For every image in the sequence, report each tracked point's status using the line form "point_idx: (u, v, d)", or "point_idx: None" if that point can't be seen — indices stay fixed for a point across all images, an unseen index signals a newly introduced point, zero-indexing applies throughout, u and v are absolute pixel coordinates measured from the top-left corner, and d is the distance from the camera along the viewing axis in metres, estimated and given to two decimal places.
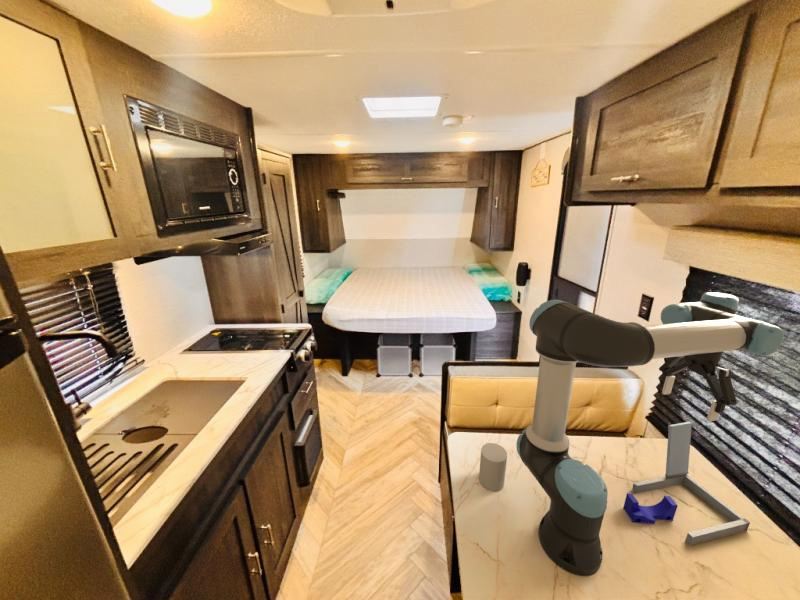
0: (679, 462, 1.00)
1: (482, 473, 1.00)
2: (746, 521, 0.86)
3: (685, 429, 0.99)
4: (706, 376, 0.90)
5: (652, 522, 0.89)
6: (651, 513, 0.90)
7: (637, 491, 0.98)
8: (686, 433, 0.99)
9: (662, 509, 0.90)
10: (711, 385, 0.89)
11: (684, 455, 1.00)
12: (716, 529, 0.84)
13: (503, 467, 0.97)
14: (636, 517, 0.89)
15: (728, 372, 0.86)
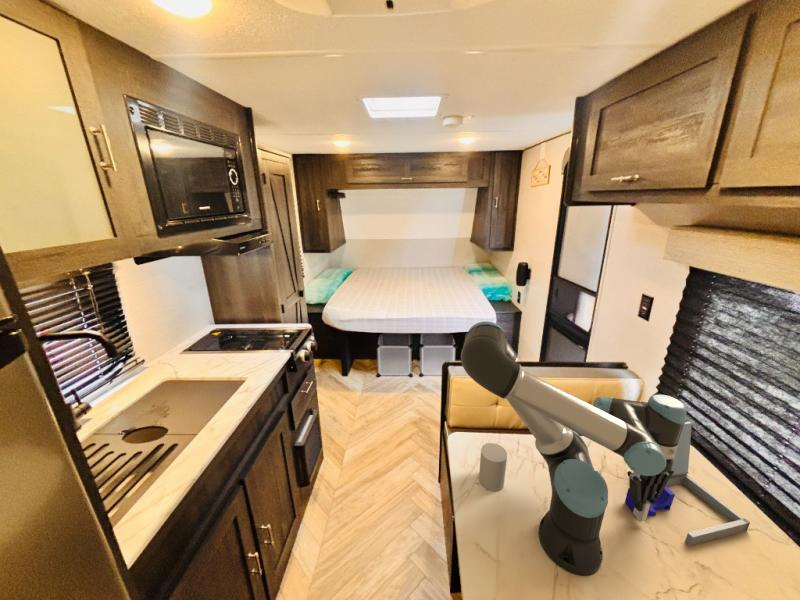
0: (679, 462, 1.00)
1: (482, 473, 1.00)
2: (746, 521, 0.86)
3: (685, 429, 0.99)
4: None
5: (653, 514, 0.91)
6: (651, 504, 0.93)
7: None
8: (686, 433, 0.99)
9: (660, 499, 0.93)
10: None
11: (684, 455, 1.00)
12: (716, 529, 0.84)
13: (503, 467, 0.97)
14: None
15: (631, 477, 0.83)
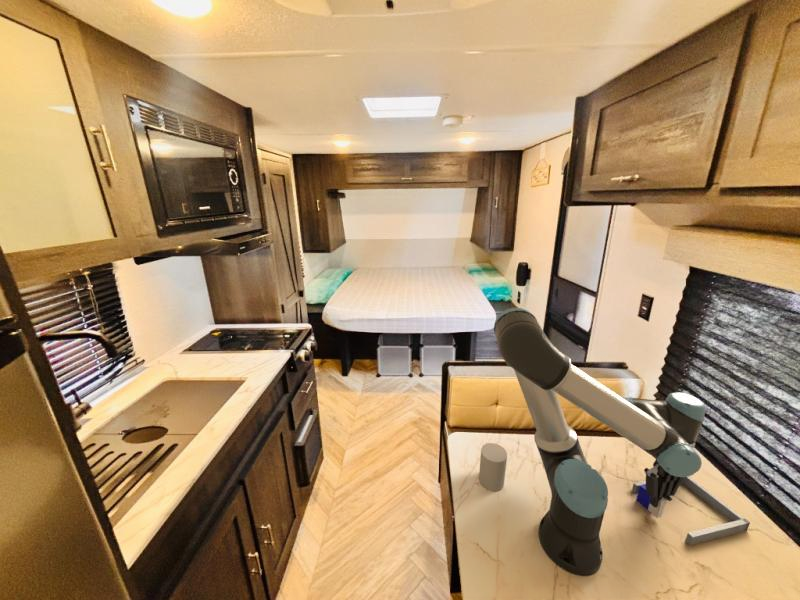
0: None
1: (482, 473, 1.00)
2: (746, 521, 0.86)
3: None
4: None
5: None
6: None
7: (637, 491, 0.98)
8: None
9: None
10: None
11: None
12: (716, 529, 0.84)
13: (503, 467, 0.97)
14: None
15: (648, 474, 0.85)
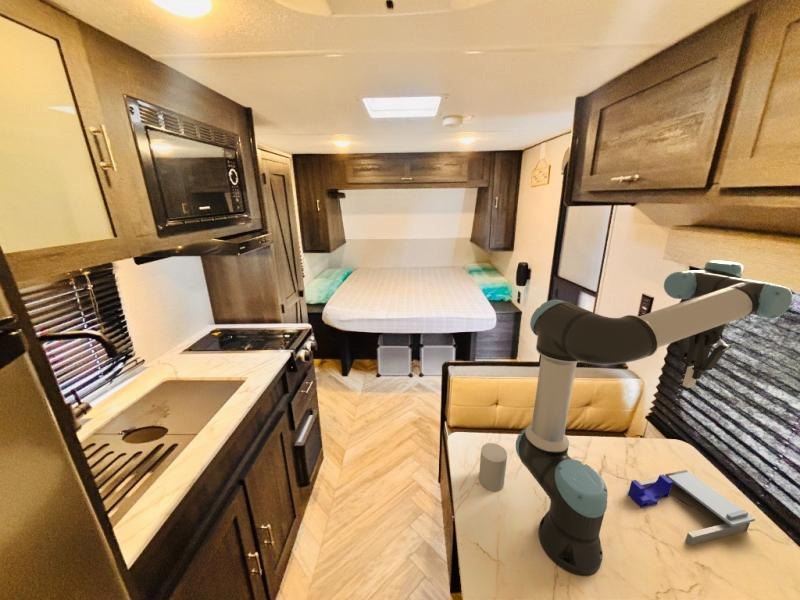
0: None
1: (482, 473, 1.00)
2: None
3: None
4: (702, 347, 0.90)
5: (655, 503, 0.94)
6: (652, 494, 0.96)
7: None
8: None
9: (660, 488, 0.97)
10: (700, 354, 0.91)
11: None
12: (716, 529, 0.84)
13: (503, 467, 0.97)
14: (644, 502, 0.93)
15: (727, 348, 0.85)
